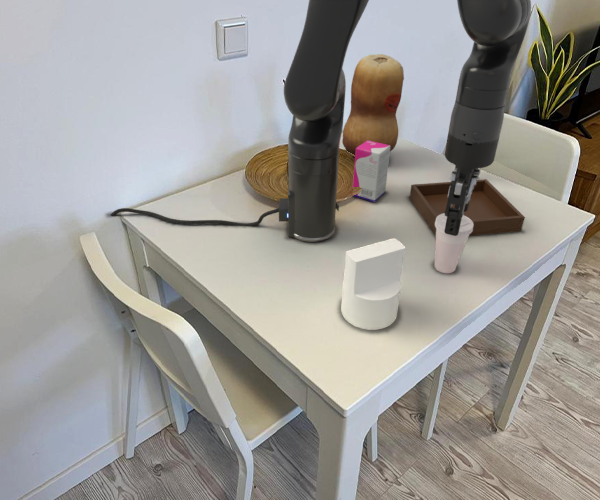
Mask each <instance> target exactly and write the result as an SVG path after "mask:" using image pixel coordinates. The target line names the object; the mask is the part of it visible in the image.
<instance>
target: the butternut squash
mask: <svg viewBox="0 0 600 500" xmlns="http://www.w3.org/2000/svg"><path fill="white" fill-rule="evenodd" d="M404 80H405V75H404V67H403V65H402V64H401V63H400V61H398V60H397V59H395V57H392V56H390V55H387V54H383V53H376V54H368V55H365V56H364V57H362V58H361V59H360V60H359V61H358V63H357V64H356V66H355V68H354V72H353V76H352V81H351V87H350V112H349V115H348V117H347V119H346V122H345V124H344V126H343V130H342V145H343V147H344V149H345V151H346V152H347V151H348V152H350V153H352V154H354V155H355V151H356V148H357V147H358V146H360V145H361V144H363V143H364V142H366V141H367V140H368V141H373V142H377V143H381V144H386V145H390V152H392V151H393V150H394V149H395V147H396V145H397V143H398V139H399V125H398V120H397V111H398V108H399V105H400V103H401V99H402V93H403V86H404Z"/></svg>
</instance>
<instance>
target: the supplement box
mask: <svg viewBox="0 0 600 500" xmlns="http://www.w3.org/2000/svg"><path fill="white" fill-rule="evenodd" d="M390 153H391V151H390V145H386V144H381V143H377V142H373V141H368V140H367V141H366V142H364V143H363V144H361V145H360V146H358V147H357V148H356V151H355V158H354V167H353V178H352V179H353V180H352V188H353V187H360V188H362V190H361V192H360V193H358V194H356V195H354V196H353V197H354V198H358V199H361V200H364V201H367V202H371V203H376V202H377V201H378V200H379V199H380V198H382V196H383V195H384V194H386V189H387V180H388V172H389V162H390V156H391V155H390Z"/></svg>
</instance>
